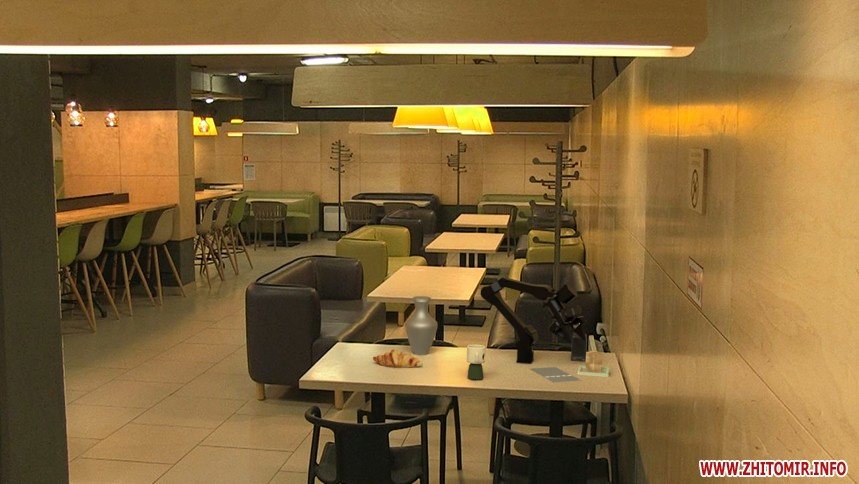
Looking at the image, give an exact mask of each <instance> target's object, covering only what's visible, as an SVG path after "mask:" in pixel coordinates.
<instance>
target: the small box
mask: <svg viewBox="0 0 859 484" xmlns="http://www.w3.org/2000/svg"><path fill="white" fill-rule="evenodd" d="M571 336H572V337H571V341H572V343H571V350H570V351H571V354H570V361H575V362H586V352H587V348H588V346H587V345H588V344H587V343H588V339H587V338H588V335H587V333H585V336H586V340H585V341H584V340H583V339H582V338H580V337H579V336H578V335H577V334H576V333H575V332H572V335H571Z"/></svg>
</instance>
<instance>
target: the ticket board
mask: <svg viewBox="0 0 859 484" xmlns="http://www.w3.org/2000/svg"><path fill="white" fill-rule="evenodd" d="M529 370H530V371H532V372H533V373H535V374H538V375H540V376H541V377H543V378H545V379H547V380H548V381H550V382H552V383H565V382H578V381H579V382H581V381H582V380H581V379H580V378H578V377H577V376H575V375H572V374H570V373H568V372H566V371H564V370H562V369H560V368H558V367H556V366H553V367H552V366H551V367H550V366H548V367H537V368H536V367H535V368H529Z"/></svg>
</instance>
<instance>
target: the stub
mask: <svg viewBox="0 0 859 484" xmlns="http://www.w3.org/2000/svg"><path fill="white" fill-rule="evenodd" d="M602 360H603V351H597V350H590V351H586V358H585V366H586V369H585V372H593V373H601V368H602V367H603V365H602V364H603V363H602Z"/></svg>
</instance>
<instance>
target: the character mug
mask: <svg viewBox="0 0 859 484" xmlns="http://www.w3.org/2000/svg"><path fill="white" fill-rule="evenodd" d="M485 362H486V346H485V345H483V344H468V345H467V346H466V363H469V365H468V370H467V379H474V380H475V381H476V380H483V379H484V368H483V365H482V364H484V363H485Z"/></svg>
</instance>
